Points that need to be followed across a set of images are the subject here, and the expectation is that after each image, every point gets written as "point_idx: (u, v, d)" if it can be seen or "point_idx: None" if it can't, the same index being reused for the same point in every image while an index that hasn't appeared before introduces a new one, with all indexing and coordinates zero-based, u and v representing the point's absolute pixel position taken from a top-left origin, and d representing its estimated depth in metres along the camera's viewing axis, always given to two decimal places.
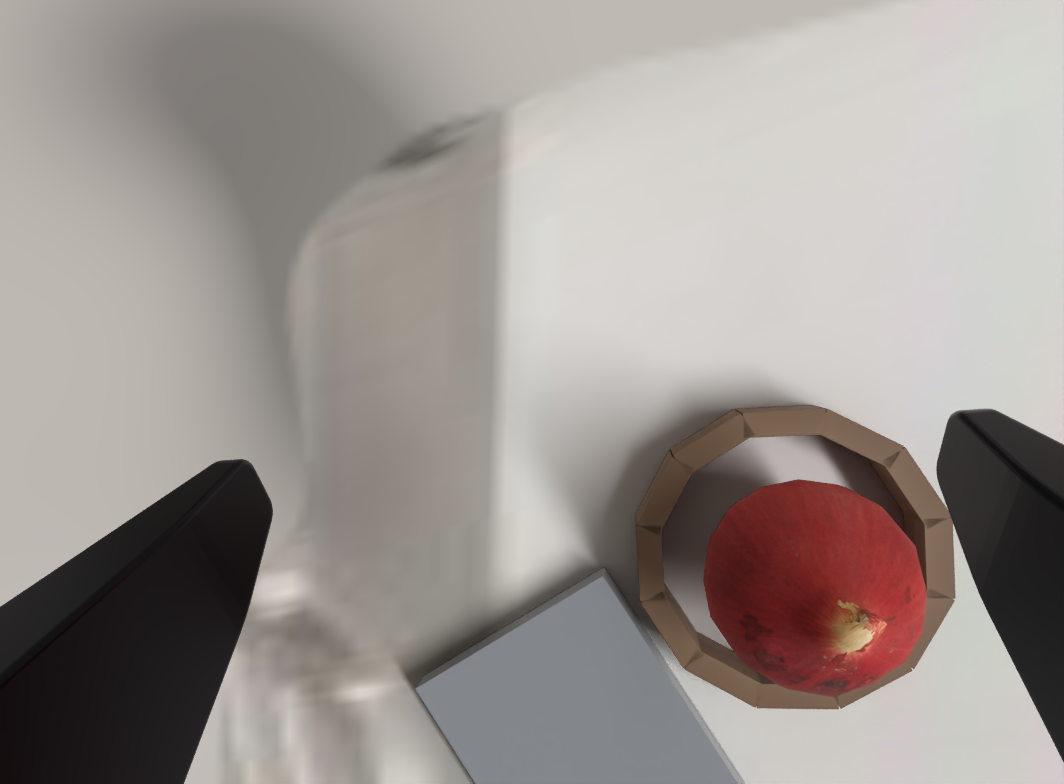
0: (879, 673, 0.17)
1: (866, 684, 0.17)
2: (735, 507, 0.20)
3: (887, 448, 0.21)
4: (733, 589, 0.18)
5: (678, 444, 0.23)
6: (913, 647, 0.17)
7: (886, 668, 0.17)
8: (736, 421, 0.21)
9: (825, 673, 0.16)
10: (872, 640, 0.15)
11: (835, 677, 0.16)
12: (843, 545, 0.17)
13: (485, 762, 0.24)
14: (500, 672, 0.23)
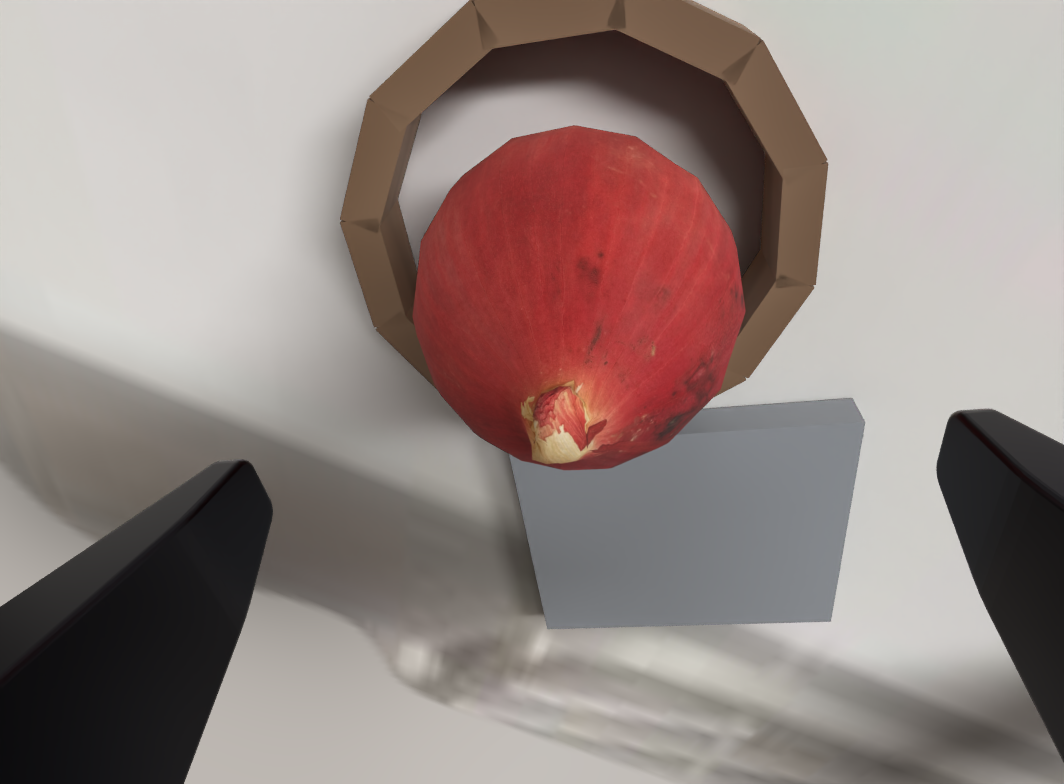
0: (687, 368, 0.10)
1: (716, 360, 0.10)
2: None
3: (464, 30, 0.12)
4: None
5: None
6: (705, 265, 0.10)
7: (686, 354, 0.10)
8: (350, 233, 0.14)
9: (634, 447, 0.10)
10: (577, 429, 0.09)
11: (650, 435, 0.10)
12: (468, 322, 0.10)
13: (652, 611, 0.21)
14: (567, 567, 0.20)
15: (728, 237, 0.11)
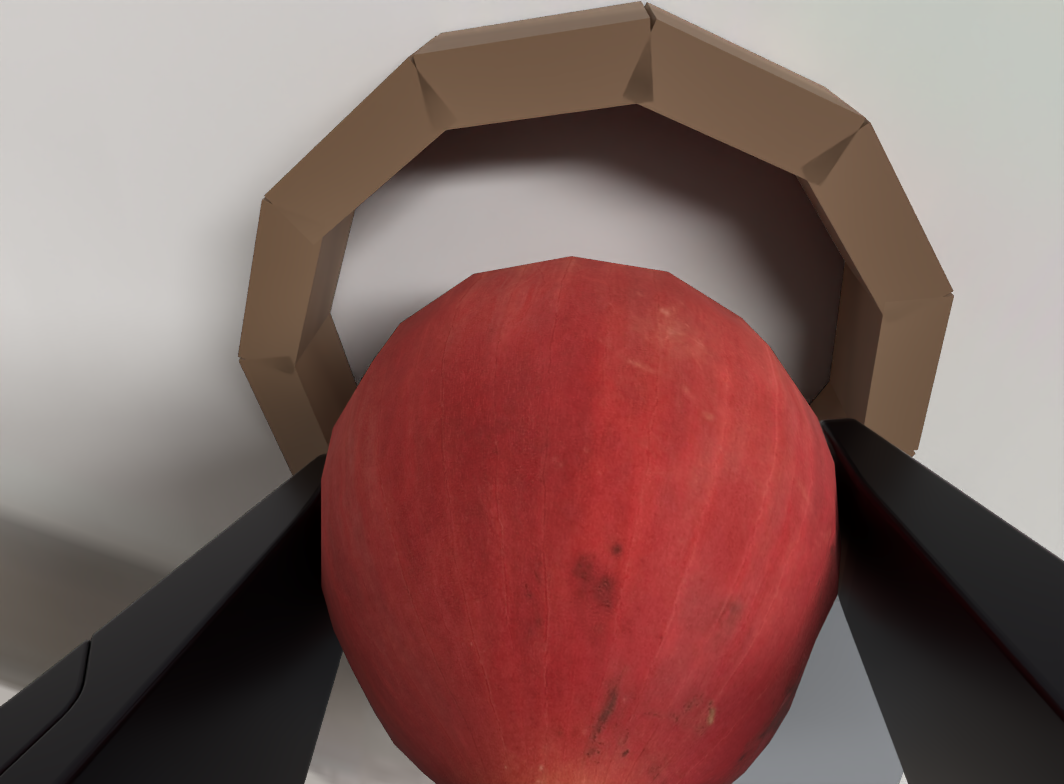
0: (767, 718, 0.06)
1: (805, 664, 0.06)
2: None
3: (401, 102, 0.07)
4: None
5: None
6: (797, 534, 0.06)
7: (766, 700, 0.05)
8: (254, 374, 0.10)
9: None
10: None
11: None
12: (383, 635, 0.06)
13: None
14: None
15: (823, 451, 0.07)
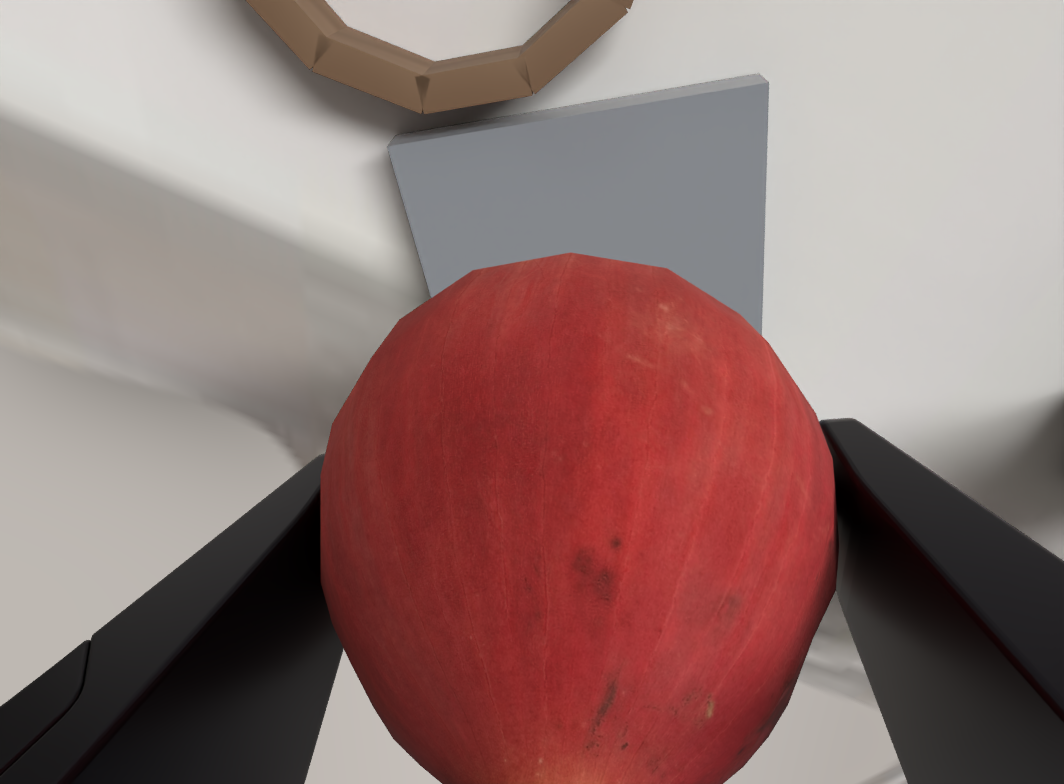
0: (765, 711, 0.06)
1: (803, 658, 0.06)
2: None
3: None
4: None
5: None
6: (795, 528, 0.06)
7: (765, 693, 0.05)
8: None
9: None
10: None
11: None
12: (382, 629, 0.06)
13: None
14: None
15: (821, 446, 0.07)
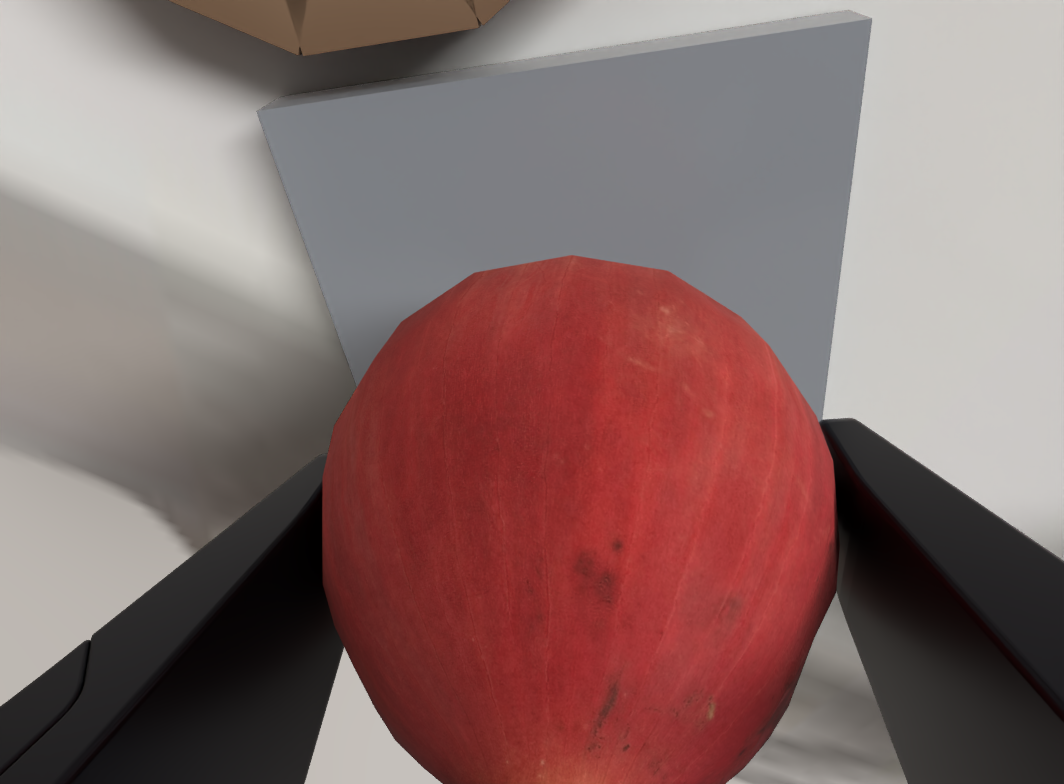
0: (766, 713, 0.06)
1: (804, 660, 0.06)
2: None
3: None
4: None
5: None
6: (796, 530, 0.06)
7: (766, 695, 0.05)
8: None
9: None
10: None
11: None
12: (384, 631, 0.06)
13: None
14: None
15: (821, 449, 0.07)
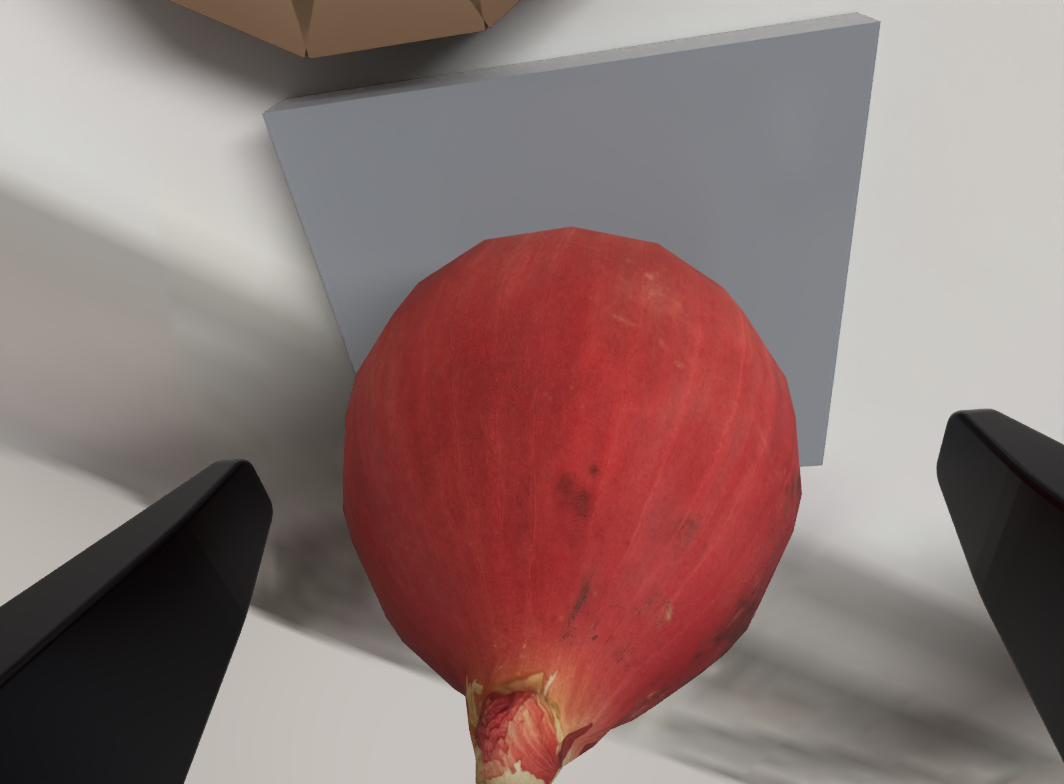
0: (719, 622, 0.07)
1: (759, 586, 0.07)
2: None
3: None
4: None
5: None
6: (752, 469, 0.07)
7: (719, 606, 0.06)
8: None
9: (634, 718, 0.07)
10: (541, 763, 0.05)
11: (658, 701, 0.07)
12: (396, 540, 0.07)
13: None
14: None
15: (785, 404, 0.07)
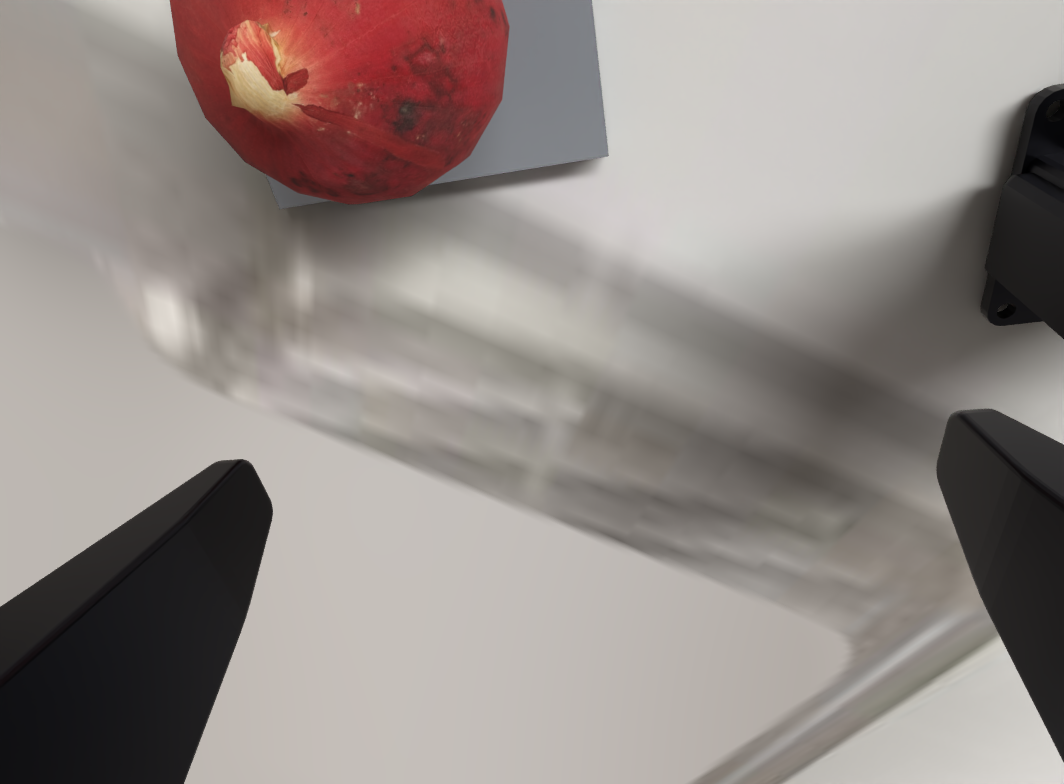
0: (404, 40, 0.10)
1: (452, 55, 0.11)
2: None
3: None
4: (272, 177, 0.12)
5: None
6: None
7: (401, 24, 0.10)
8: None
9: (364, 131, 0.10)
10: (261, 61, 0.09)
11: (379, 118, 0.10)
12: None
13: None
14: None
15: None
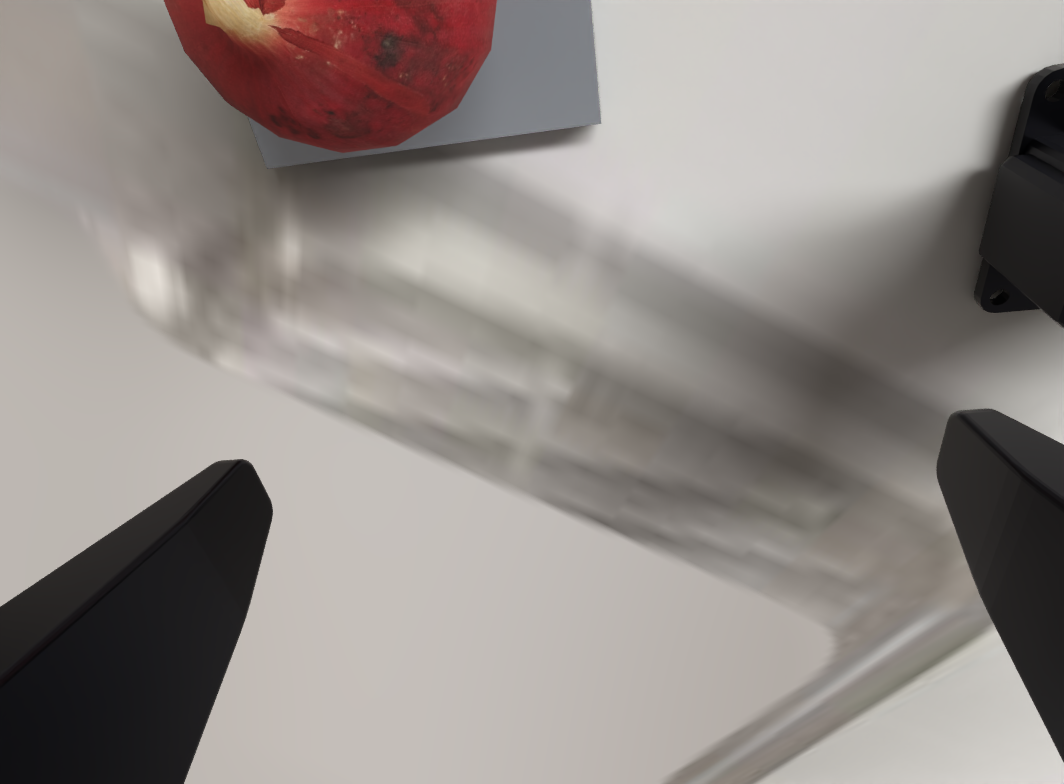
0: None
1: None
2: None
3: None
4: (252, 117, 0.12)
5: None
6: None
7: None
8: None
9: (344, 63, 0.10)
10: None
11: (359, 50, 0.10)
12: None
13: None
14: None
15: None
